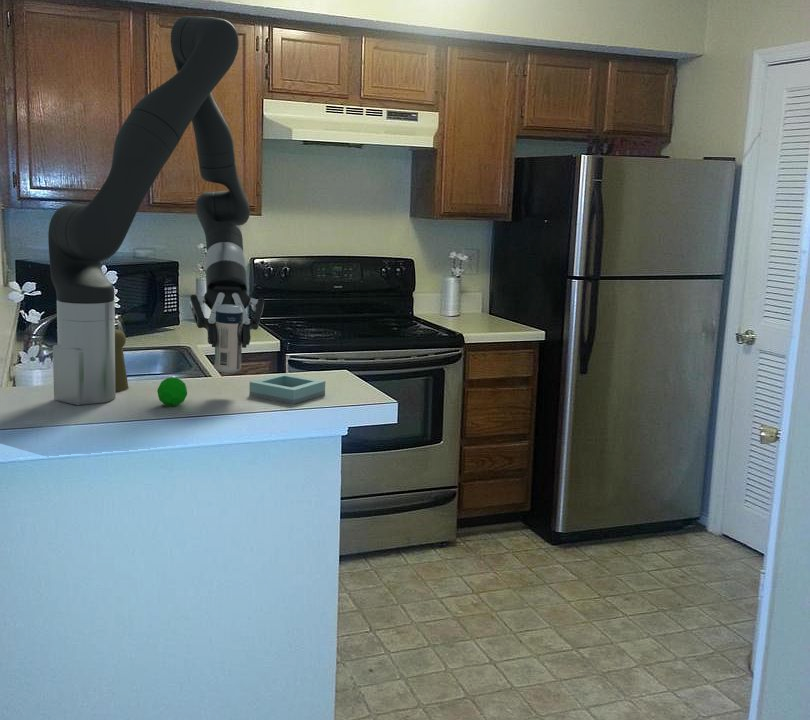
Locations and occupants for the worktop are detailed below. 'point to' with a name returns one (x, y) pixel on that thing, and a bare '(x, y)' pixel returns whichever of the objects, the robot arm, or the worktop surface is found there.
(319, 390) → the tray
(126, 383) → the brown pawn
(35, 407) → the worktop surface
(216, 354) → the beer can
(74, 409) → the worktop surface
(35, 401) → the worktop surface
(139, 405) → the worktop surface
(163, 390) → the polyhedron
